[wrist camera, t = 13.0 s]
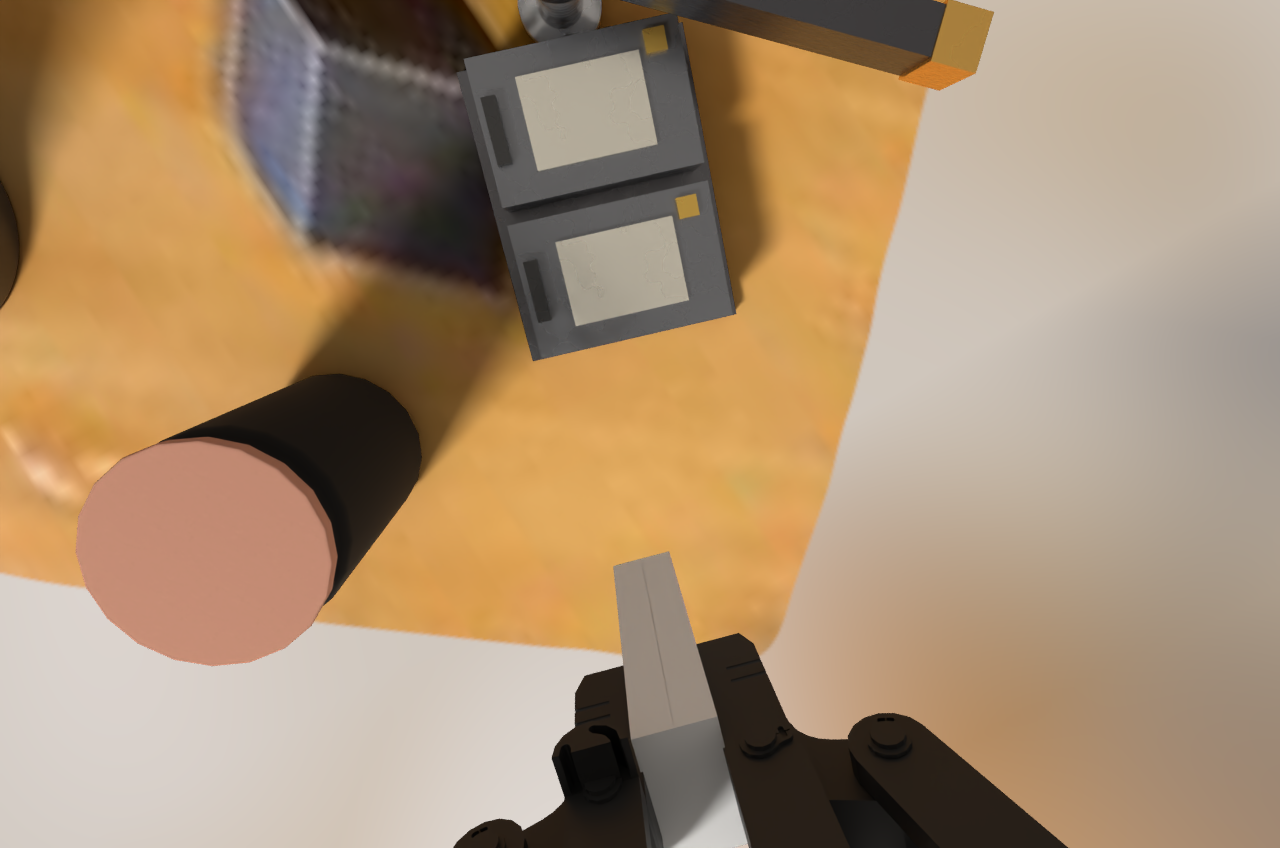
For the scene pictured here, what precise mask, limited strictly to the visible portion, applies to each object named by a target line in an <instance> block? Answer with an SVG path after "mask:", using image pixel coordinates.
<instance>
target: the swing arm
mask: <svg viewBox="0 0 1280 848" xmlns="http://www.w3.org/2000/svg"><path fill="white" fill-rule="evenodd" d="M541 1H544V2H547V3H552V4H561V3H567V2H570V1H573V0H541ZM622 1H626V2H630V3H633V4H637V5H641V6H644V7H648V8H652V9H655V10H659V11H663V12H667V13H670V14H674V15H678V16H681V17H685V18H689V19H692V20H696V21H700V22H703V23H707V24H711V25H715V26H718V27H722V28H726V29H729V30H733V31H737V32H740V33H744V34H748V35H751V36H755V37H759V38H763V39H766V40H770V41H774V42H777V43H781V44H785V45H788V46H792V47H796V48H799V49H803V50H807V51H811V52H814V53H818V54H822V55H825V56H829V57H833V58H836V59H840V60H844V61H847V62H851V63H855V64H859V65H862V66H866V67H870V68H873V69H877V70H881V71H884V72H888V73H892V74H895V75H899V80H902V81H906V82H909V83H913V84H917V85H921V86H924V87H928V88H932V89H935V90H941V89H944V88H946V87H948V86H950V85H952V84H954V83H956V82H958V81H961V80H963V79H965V78H967V77H969V76H971V75H973V74H975V73H976V70H977V67H978V64H979V61H980V57H981V54H982V51H983V47H984V44H985V40H986V37H987V34H988V31H989V27H990V23H991V21H992V17H993V14H994V12H992V11H988V10H985V9H981V8H978V7H975V6H971V5H968V4H964V3H960V2H957V1H954V0H947V1H945V2H944V3H940V2H937V1H933V0H622Z"/></svg>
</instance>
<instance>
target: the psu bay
mask: <svg viewBox="0 0 1280 848" xmlns="http://www.w3.org/2000/svg"><path fill="white" fill-rule="evenodd" d="M464 62H465V66H466V71H461V72H457V75H458V79H459V83H460V87H461V91H462V94H463V98H464V102H465V106H466V109H467V113H468V117H469V121H470V125H471V128H472V132H473V136H474V140H475V144H476V147H477V151H478V155H479V159H480V162H481V166H482V170H483V174H484V178H485V181H486V185H487V189H488V193H489V197H490V200H491V204H492V208H493V212H494V215H495V219H496V223H497V227H498V231H499V234H500V238H501V242H502V246H503V250H504V253H505V257H506V261H507V265H508V269H509V272H510V276H511V280H512V284H513V287H514V291H515V295H516V299H517V303H518V306H519V310H520V314H521V318H522V322H523V325H524V329H525V333H526V337H527V340H528V344H529V348H530V352H531V356H532V359H533V361H536V360H540V359H545V358H549V357H553V356H558V355H562V354H566V353H571V352H575V351H579V350H584V349H588V348H592V347H597V346H601V345H605V344H609V343H614V342H618V341H622V340H627V339H631V338H635V337H640V336H644V335H648V334H653V333H657V332H661V331H665V330H670V329H674V328H678V327H683V326H687V325H691V324H696V323H700V322H704V321H709V320H713V319H717V318H721V317H726V316H730V315H734V314H736V310H735V305H734V299H733V294H732V288H731V283H730V277H729V272H728V267H727V261H726V256H725V250H724V245H723V240H722V234H721V229H720V223H719V218H718V212H717V207H716V202H715V196H714V191H713V185H712V180H711V175H710V169H709V164H708V158H707V153H706V147H705V142H704V137H703V131H702V126H701V120H700V115H699V110H698V104H697V99H696V93H695V88H694V82H693V77H692V72H691V66H690V61H689V55H688V50H687V45H686V39H685V34H684V28H683V23H682V22H681V23H678V18H677V15H674V14H670V13H669V14H664V15H660V16H655V17H651V18H646V19H642V20H637V21H633V22H628V23H624V24H619V25H615V26H610V27H606V28H601V29H597V30H592V31H588V32H583V33H579V34H574V35H570V36H565V37H561V38H556V39H552V40H547V41H543V42H538V43H534V44H529V45H525V46H520V47H516V48H511V49H507V50H502V51H498V52H493V53H489V54H484V55H480V56H475V57H471V58H466V59H464Z"/></svg>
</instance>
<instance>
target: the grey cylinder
mask: <svg viewBox="0 0 1280 848" xmlns="http://www.w3.org/2000/svg"><path fill="white" fill-rule="evenodd" d="M518 9H519V13H520V17H521V20H522V23H523V26H524V28H525V30H526V31H527V33H528V34H529V36H530V37H531V38H532V39H533V40H534V41H535V42H536V43H538V42H543V41H547V40H552V39H556V38H561V37H565V36H570V35H574V34H579V33H583V32H588V31H592V30H597V29H598V26H599V23H600V19H601V10H602V0H573V1H570V2H567V3H561V4H552V3H547V2H544V1H541V0H518Z"/></svg>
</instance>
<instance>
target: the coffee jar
mask: <svg viewBox="0 0 1280 848" xmlns="http://www.w3.org/2000/svg"><path fill="white" fill-rule="evenodd" d="M421 459H422V455H421V448H420V442H419V435H418V432H417V430H416V428H415V426H414V424H413V422H412V420H411V418H410V416H409V414H408V412H407V411H406V410H405V409H404V408H403V407H402V406H401V405H400V404H399V403H398V402H397V400H396V399H395V398H394V397H393V396H392V395H391V394H390V393H389V392H387V391H385V390H383V389H382V388H380V387H378V386H376V385H374V384H373V383H371V382H369V381H367V380H365V379H361V378H356V377H352V376H347V375H343V374H331V375H318V376H312V377H309V378H307V379H305V380H302V381H300V382H297V383H295V384H293V385H290V386H288V387H286V388H283V389H281V390H279V391H276V392H274V393H272V394H269V395H267V396H265V397H262V398H260V399H258V400H255V401H253V402H251V403H248V404H246V405H244V406H241V407H239V408H237V409H234V410H232V411H230V412H227V413H225V414H223V415H220V416H218V417H216V418H213V419H211V420H209V421H206V422H204V423H202V424H199V425H197V426H195V427H192V428H190V429H188V430H185V431H183V432H181V433H178V434H176V435H174V436H171V437H169V438H167V439H164V440H162V441H160V442H159V443H157V444H155V445H152V446H150V447H148V448H145V449H143V450H140V451H138V452H136V453H133V454H131V455H128V456H126V457H124V458H122V459H121V460H120V461H119V462H118V463H116V464H115V465H114V466H113V467H112V468H111V469H110V470H109V471H108V472H107V473H106V474H104V475H103V476H102V477H101V478H100V479H99V480H98V481H97V482H96V483H95V484H94V486H93V488H92V490H91V492H90V494H89V496H88V498H87V500H86V502H85V504H84V506H83V508H82V510H81V512H80V514H79V516H78V528H77V542H76V555H77V558H78V561H79V565H80V568H81V572H82V575H83V579H84V582H85V586H86V588H87V589H88V591H89V592H90V594H91V595H92V597H93V598H94V599H95V601H96V602H97V604H98V605H99V607H100V608H101V610H102V611H103V612H104V614H105V616H106V617H107V619H109V620H110V621H111V622H112V623H114V624H115V625H116V626H117V627H118V628H120V629H121V630H122V631H123V632H125V633H126V634H127V635H128V636H129V637H131V638H132V639H133V640H134V641H136V642H137V643H138V644H140V645H143V646H145V647H147V648H149V649H151V650H154V651H156V652H158V653H160V654H163V655H165V656H167V657H169V658H171V659H174V660H179V661H185V662H191V663H197V664H203V665H210V666H218V665H227V664H238V663H247V662H252V661H254V660H257V659H259V658H262V657H264V656H267V655H269V654H271V653H274V652H276V651H279V650H281V649H284V648H285V647H287V646H288V645H289V644H290V643H291V642H293V641H294V640H295V639H296V638H297V637H299V636H300V635H301V634H302V633H303V632H304V631H306V630H307V629H308V628H309V627H310V626H311V625H312V624H313V622H314V620H315V618H316V617H317V615H318V613H319V612H320V610H321V608H322V606H324V605H325V604H326V603H327V602H328V601H330V600H331V599H332V598H333V597H334V595H335V594H336V593H337V591H338V590H339V589H340V587H341V586H342V585H343V583H344V582H345V581H346V579H347V578H348V577H349V575H350V574H351V573H352V571H353V570H354V569H355V567H356V566H357V565H358V563H359V562H360V561H361V559H362V558H363V557H364V555H365V554H366V553H367V551H368V550H369V549H370V547H371V546H372V545H373V543H374V542H375V541H376V539H377V538H378V537H379V535H380V534H381V533H382V531H383V530H384V529H385V527H386V526H387V525H388V523H389V522H390V521H391V519H392V518H393V517H394V515H395V514H396V513H397V511H398V510H399V509H400V507H401V506H402V505H403V503H404V502H405V501H406V499H407V497H408V496H409V494H410V492H411V491H412V489H413V487H414V485H415V484H416V482H417V480H418V475H419V470H420V465H421Z"/></svg>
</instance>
